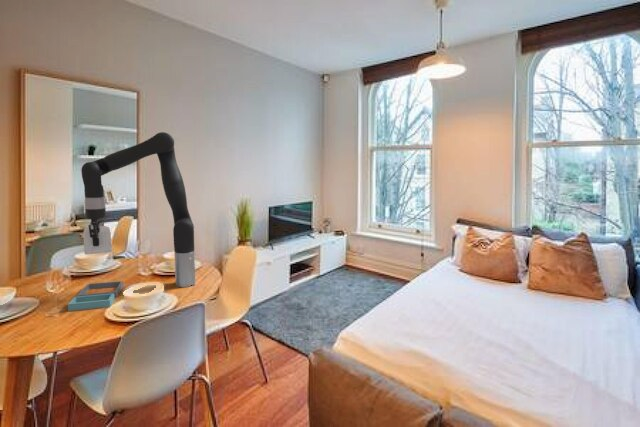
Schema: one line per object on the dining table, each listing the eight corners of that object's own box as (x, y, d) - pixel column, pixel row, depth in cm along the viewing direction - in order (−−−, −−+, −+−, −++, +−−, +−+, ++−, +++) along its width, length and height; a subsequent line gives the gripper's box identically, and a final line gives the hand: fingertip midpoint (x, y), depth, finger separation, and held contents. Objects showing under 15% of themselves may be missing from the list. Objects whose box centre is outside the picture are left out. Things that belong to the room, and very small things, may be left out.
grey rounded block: (111, 250, 153) (110, 224, 152) (112, 252, 150) (110, 226, 148) (84, 253, 148) (82, 226, 146) (84, 255, 144) (82, 227, 142)
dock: (114, 299, 145) (114, 293, 145) (110, 306, 138) (109, 300, 138) (75, 303, 140) (74, 296, 140) (68, 311, 133) (68, 304, 133)
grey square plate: (123, 285, 162) (123, 280, 161) (116, 297, 148) (115, 292, 148) (87, 288, 157) (87, 283, 156) (77, 300, 143) (76, 295, 143)
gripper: (100, 209, 140) (103, 248, 143) (109, 205, 154) (111, 240, 156) (79, 209, 138) (82, 249, 140) (90, 205, 151) (93, 241, 154)
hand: (98, 244), depth 148 cm, fingers closed on grey rounded block, 5 cm apart
